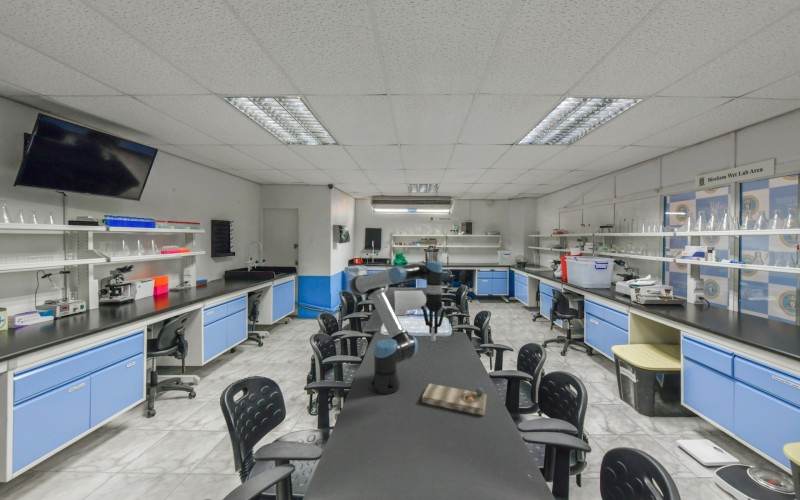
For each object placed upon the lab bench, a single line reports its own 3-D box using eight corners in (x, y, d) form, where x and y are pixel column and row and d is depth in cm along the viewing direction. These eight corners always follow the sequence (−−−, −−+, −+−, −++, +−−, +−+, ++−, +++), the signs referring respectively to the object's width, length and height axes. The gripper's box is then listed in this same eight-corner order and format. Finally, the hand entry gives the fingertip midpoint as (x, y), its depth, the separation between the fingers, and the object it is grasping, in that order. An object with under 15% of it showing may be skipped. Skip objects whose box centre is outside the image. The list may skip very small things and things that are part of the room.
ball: (469, 397, 137) (475, 402, 136) (470, 394, 140) (476, 399, 139) (464, 402, 137) (471, 408, 136) (465, 399, 141) (471, 404, 140)
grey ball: (475, 396, 140) (475, 388, 140) (476, 392, 143) (476, 385, 143) (483, 397, 139) (483, 390, 139) (483, 393, 142) (483, 386, 142)
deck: (422, 402, 140) (422, 396, 140) (429, 389, 152) (429, 383, 152) (483, 415, 130) (484, 409, 130) (486, 400, 142) (486, 394, 142)
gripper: (419, 293, 146) (418, 340, 147) (445, 295, 141) (444, 344, 143) (423, 290, 153) (422, 335, 154) (448, 292, 148) (447, 339, 150)
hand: (433, 339), depth 148 cm, fingers closed
